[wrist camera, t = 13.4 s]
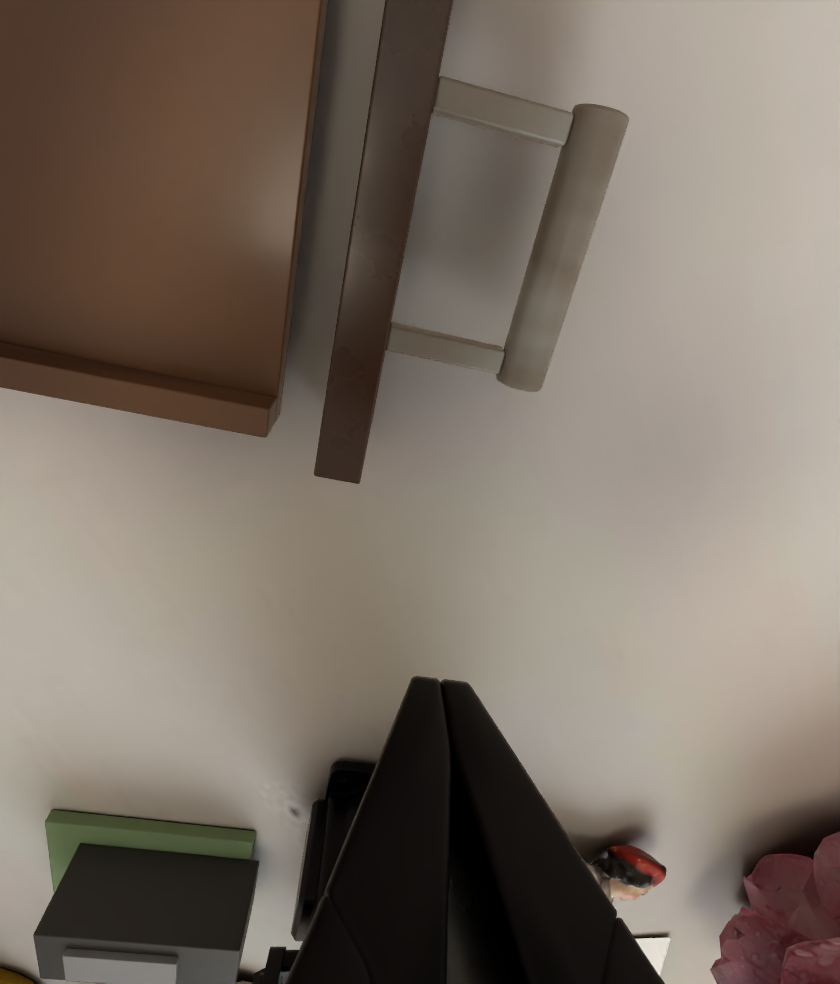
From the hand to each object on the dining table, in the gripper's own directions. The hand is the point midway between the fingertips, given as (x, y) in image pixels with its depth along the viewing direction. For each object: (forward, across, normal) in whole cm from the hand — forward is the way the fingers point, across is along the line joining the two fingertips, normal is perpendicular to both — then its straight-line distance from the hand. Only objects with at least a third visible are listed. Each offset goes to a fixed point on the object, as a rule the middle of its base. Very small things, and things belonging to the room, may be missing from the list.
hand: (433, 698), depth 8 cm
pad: (+10, +8, +24) cm, 27 cm away
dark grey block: (+9, +7, +24) cm, 26 cm away
